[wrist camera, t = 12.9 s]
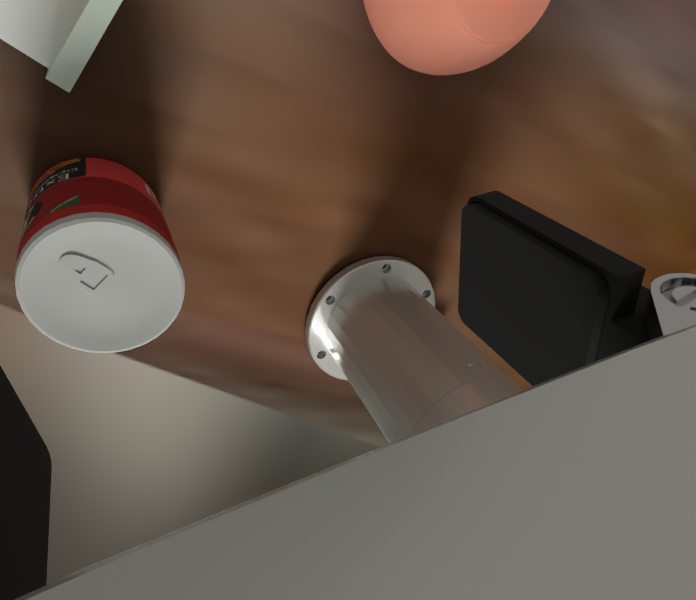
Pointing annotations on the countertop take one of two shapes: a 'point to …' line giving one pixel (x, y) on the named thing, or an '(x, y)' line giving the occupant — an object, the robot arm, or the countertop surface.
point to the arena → (57, 33)
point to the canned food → (97, 258)
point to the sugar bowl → (451, 31)
